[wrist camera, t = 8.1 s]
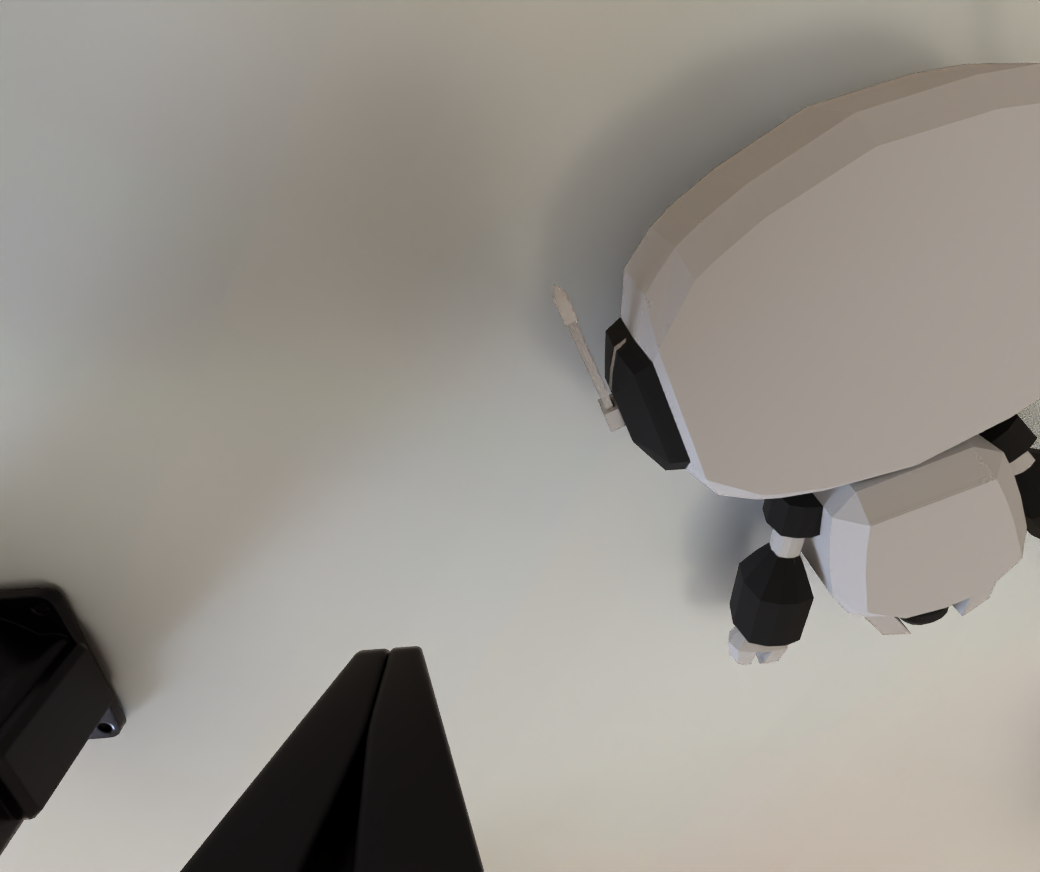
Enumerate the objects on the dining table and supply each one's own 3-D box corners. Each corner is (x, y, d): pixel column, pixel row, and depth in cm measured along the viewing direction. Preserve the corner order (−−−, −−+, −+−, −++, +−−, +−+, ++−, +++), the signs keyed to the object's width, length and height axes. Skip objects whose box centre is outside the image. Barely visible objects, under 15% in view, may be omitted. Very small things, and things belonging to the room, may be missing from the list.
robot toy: (1049, 481, 20) (1048, -37, 13) (1186, 578, 17) (1295, -82, 9) (695, 611, 22) (521, 224, 15) (743, 726, 18) (540, 279, 11)
